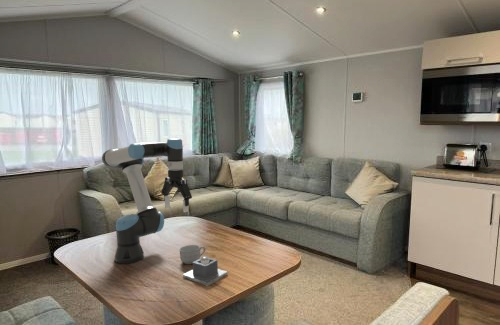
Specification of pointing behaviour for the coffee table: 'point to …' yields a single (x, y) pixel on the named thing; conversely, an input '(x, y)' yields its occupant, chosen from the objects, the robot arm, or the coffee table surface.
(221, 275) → the grey plate with post
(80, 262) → the coffee table surface
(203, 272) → the grey square hollow block
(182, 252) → the teacup
